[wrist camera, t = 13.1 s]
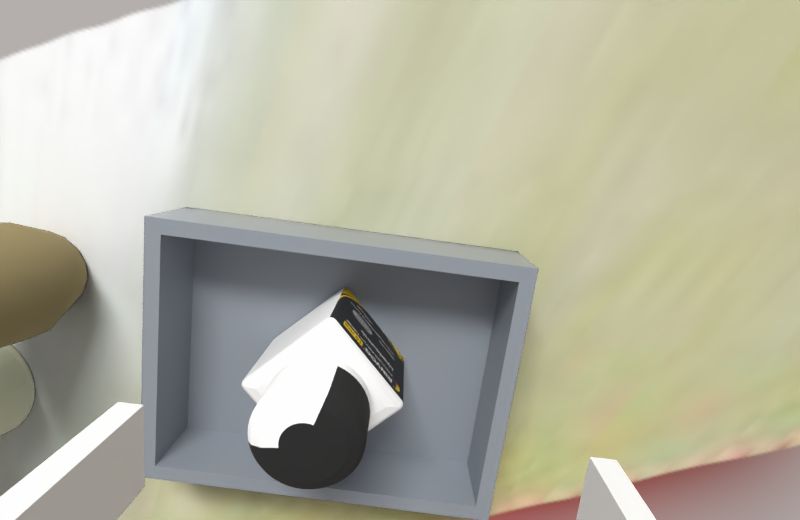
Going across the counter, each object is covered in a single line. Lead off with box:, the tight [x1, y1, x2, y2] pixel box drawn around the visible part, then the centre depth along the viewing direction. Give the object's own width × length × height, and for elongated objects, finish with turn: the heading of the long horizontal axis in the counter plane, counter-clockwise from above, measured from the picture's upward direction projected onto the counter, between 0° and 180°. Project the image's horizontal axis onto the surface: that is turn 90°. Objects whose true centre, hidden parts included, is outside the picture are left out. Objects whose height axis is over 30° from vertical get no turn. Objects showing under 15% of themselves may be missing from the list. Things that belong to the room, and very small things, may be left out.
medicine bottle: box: [242, 288, 404, 489], centre depth 29 cm, size 7×7×12 cm
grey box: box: [141, 207, 538, 520], centre depth 33 cm, size 24×18×6 cm
